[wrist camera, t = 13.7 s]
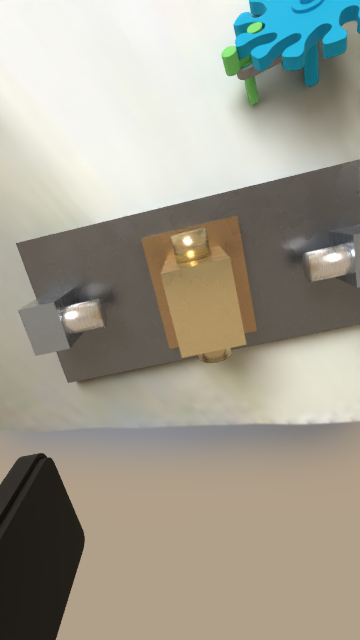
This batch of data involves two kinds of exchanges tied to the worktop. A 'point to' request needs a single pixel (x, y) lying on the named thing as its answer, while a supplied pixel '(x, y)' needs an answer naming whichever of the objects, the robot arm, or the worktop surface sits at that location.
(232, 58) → the gear
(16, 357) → the worktop surface
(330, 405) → the worktop surface
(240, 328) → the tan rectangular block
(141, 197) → the worktop surface
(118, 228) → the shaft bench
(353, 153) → the worktop surface
